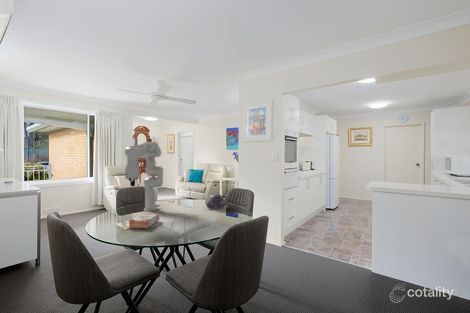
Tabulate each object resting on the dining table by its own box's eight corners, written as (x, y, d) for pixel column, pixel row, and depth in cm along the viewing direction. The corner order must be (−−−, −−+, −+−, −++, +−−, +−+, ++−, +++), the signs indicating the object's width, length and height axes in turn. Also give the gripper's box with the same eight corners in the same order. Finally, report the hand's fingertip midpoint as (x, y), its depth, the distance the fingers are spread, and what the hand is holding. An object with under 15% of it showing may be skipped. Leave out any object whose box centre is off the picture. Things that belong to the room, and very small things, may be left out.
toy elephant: (223, 207, 244) (221, 192, 246) (230, 207, 228) (228, 192, 230) (205, 210, 235) (203, 195, 237) (210, 210, 220) (208, 194, 222)
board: (142, 218, 198) (142, 217, 198) (153, 223, 184) (153, 222, 184) (114, 224, 182) (114, 223, 182) (125, 230, 168) (125, 229, 168)
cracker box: (159, 212, 190) (146, 220, 169) (159, 220, 190) (146, 228, 169) (143, 212, 191) (128, 220, 170) (143, 219, 191) (128, 228, 171)
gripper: (139, 162, 194) (139, 184, 194) (120, 163, 183) (121, 186, 183) (143, 162, 189) (144, 185, 189) (124, 163, 178) (125, 187, 178)
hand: (132, 186), depth 186 cm, fingers closed
